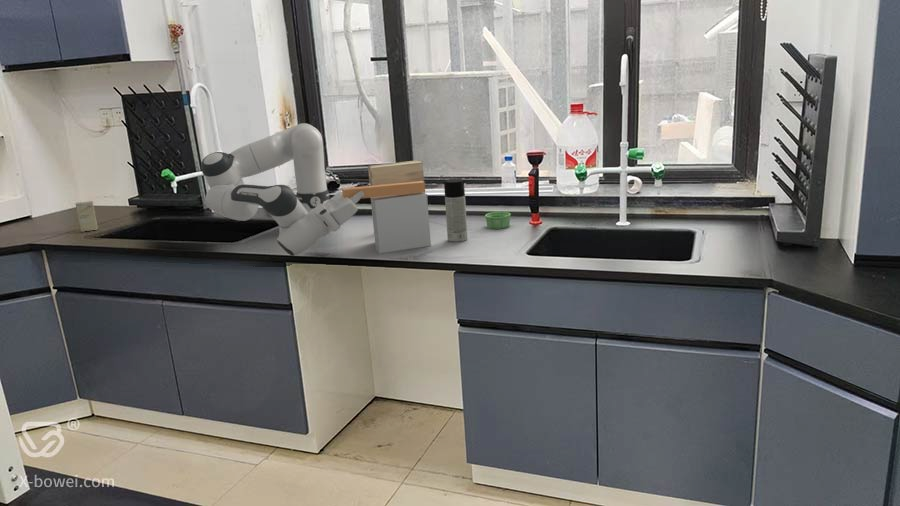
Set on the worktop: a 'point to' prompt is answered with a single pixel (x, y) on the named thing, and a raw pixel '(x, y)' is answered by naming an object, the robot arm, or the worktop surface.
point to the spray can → (455, 210)
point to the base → (400, 222)
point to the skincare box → (86, 216)
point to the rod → (386, 189)
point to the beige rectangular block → (396, 173)
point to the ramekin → (498, 220)
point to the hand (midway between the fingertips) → (361, 191)
